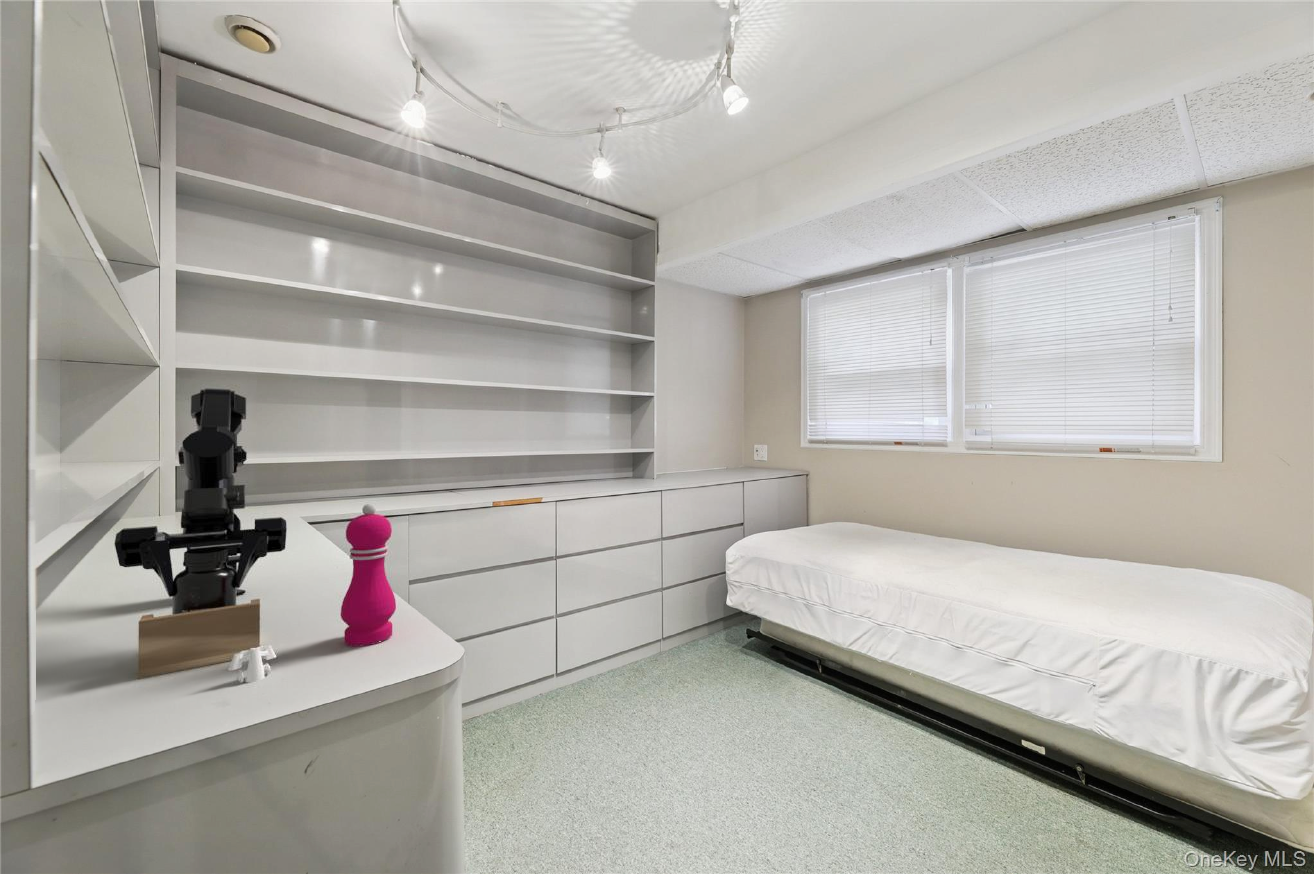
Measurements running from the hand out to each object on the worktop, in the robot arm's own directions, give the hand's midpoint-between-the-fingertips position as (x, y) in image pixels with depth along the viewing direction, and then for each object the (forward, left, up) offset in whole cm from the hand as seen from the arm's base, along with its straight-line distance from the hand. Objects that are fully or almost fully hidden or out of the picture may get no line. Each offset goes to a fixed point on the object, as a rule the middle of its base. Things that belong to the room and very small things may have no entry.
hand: (205, 590), depth 73 cm
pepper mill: (+15, +13, -9) cm, 22 cm away
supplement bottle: (-1, +1, -7) cm, 7 cm away
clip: (+14, -2, -9) cm, 17 cm away
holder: (-1, +1, -9) cm, 9 cm away
